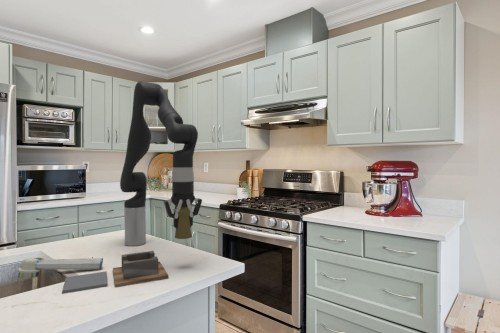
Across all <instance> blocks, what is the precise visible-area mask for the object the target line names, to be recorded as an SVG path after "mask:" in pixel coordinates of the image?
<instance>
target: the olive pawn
mask: <svg viewBox="0 0 500 333" xmlns="http://www.w3.org/2000/svg"><path fill="white" fill-rule="evenodd" d="M178 209H179V208H178ZM189 215H190V210H189V208H188V207H181V208H180V210H179V212H178V228H177V229H176V228H175V233H174V238H175V239H177V240H188V239H191V238H192V237H193V234H192V226H191V227H190V221H189Z"/></svg>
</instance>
